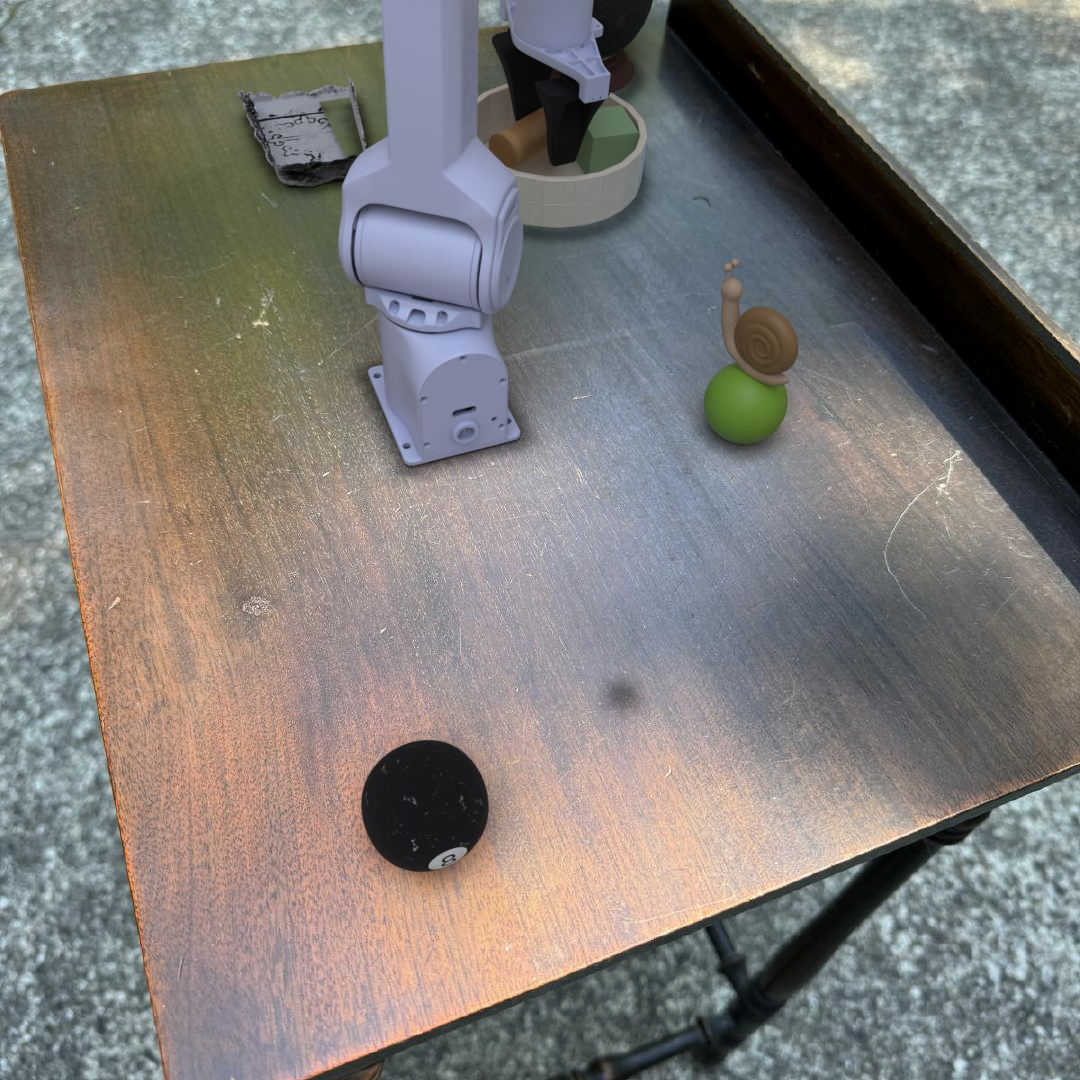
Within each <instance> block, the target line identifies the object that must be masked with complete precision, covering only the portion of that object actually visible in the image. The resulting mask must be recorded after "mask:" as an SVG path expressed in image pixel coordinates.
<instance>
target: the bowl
mask: <svg viewBox="0 0 1080 1080" xmlns="http://www.w3.org/2000/svg"><path fill="white" fill-rule="evenodd" d="M619 105H622V106H623V108H624V110H625V111H626V113H627V114H628V116H629V117H630V119H631V121H632V122H633V124H634V125H635V127H636V129H637V130H638V132H639V133H638V140H637V146H636V148H635V150H634V151H633V152H632V153H631V154H630V155H629V156H628V157H627V158H626V159H624V160H623V161H622V162H621V163H619V164H617V165H614V166H612V167H610V168H607V169H605V170H603V171H601V172H596V173H590V174H584V172H583V170H582V168H581V167H580V165H579V163H578V161H577V159H576V160H575V162H572V163H568V164H564V165H560V166H553V165H552V164H551V163H550V161H549V157H548V151H547V149H545V150H543V151H542V152H540V153H538V154H537V155H535V156H533V157H532V158H530V159H528V160H527V161H525V162H523V163H521V164H520V165H518V166H516V167H515V168H513V169H511V168H508V167H507V168H508V169H509V170H510V172H511V173H512V174H513V175H514V176H515V177H516V179H517V189H518V191H519V212H520V219H521V221H522V225H525V226H530V227H531V226H532V227H537V228H538V227H540V228H550V229H551V228H552V229H553V228H554V229H555V228H556V229H557V228H558V229H563V228H565V229H566V228H575V227H582V226H583V227H584V226H588V225H591V224H595V223H596V224H597V223H600V222H602V221H605V220H607V219H609V218H612V217H613V216H616V215H617V214H619V213H621V212H623V210H624V209H626V208H627V207H628V206H629V205H630V204H631V203H632V202H633V201H634V200H635V199H636V197H637V195H638V193H639V189H640V186H641V183H642V181H643V180H642V179H643V172H644V164H645V157H646V150H647V144H648V143H647V142H648V133H647V127H646V123H645V120H644V118H643V117H642V116H641V115H640V114H639V112H638V111H637V110H636V109H635V108H634V106H633V105H631V104H630V103H629V102H627V101H626V100H624V99H623V98H620V97H619V96H617V95H616V94H614V93H611V92H610V95H609V96H608V98H607V99H606V100H605V101H604V102H603V103H602V105H601V106H600V107H599V108H603V107H611V106H619ZM515 122H516V121H515V117H514V112H513V107H512V102H511V97H510V92H509V87H508V83H503V84H502V85H499V86H497V87H494V88H491V89H488V90H486V91H484V92H482V93H481V94H479V95H478V105H477V136H478V138H479V140H480V141H481V142H482V143H483V144H484V145H485V146H486V147H487V148H488V149H489V140H490V138H491V136H492V135H493V134H495V133H497V132H499V131H501V130H502V129H504V128H506V127H508V126H509V125H511V124H513V123H515Z"/></svg>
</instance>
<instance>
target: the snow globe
mask: <svg viewBox="0 0 1080 1080" xmlns="http://www.w3.org/2000/svg"><path fill="white" fill-rule="evenodd" d="M653 2H654V0H593V11H592V17H593V18H595V19H596V20H597V21H598V22H599V23H600V24H602V25H603V34H602V36H600V37H597V38H595V40H596V44H597V47H598V50H599V53H600V57H601V60H602V63H603V65H604V67H605V68H606V69H607V70H608V72H609V73H610V74H611V75H610V83H611V93H612V94H614V93H616V92H618V91H621V90H622V89H624V88H625V87H626V86H627V85H629V84H630V83H631V81H632V80H633V78H634V74H635V68H634V65H633V62H632V60H631V59H630V58H629V56H628V54H627V52H626V51H625V50H624V49H625V48H626V47H627V46H629V44H631V43H632V42H633V41H634V39H635V38H636V37H637V35H638V34H639V32H641V30H642V28H643V27H644V26H645V24H646V21H647V19H648V18H649V14H650V12H651V10H652V6H653V4H654V3H653ZM554 78H559V79H560V71H558V70H556V69H554V68H553V69H552V72H551V76H550V79H554Z"/></svg>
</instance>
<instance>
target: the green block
mask: <svg viewBox="0 0 1080 1080" xmlns="http://www.w3.org/2000/svg"><path fill="white" fill-rule="evenodd" d="M638 133H639V132H638V130H637V129H636V127H635V125H634V124H633V122H632V121H631V119H630V117H629V116H628V114H627V113H626V111H625V110H624V108H623V106H622V105H619V106H611V107H603V108H599V109H598V110H597V112H596V113H595V115H594V117H593V118H592V120H591V122H590V124H589V126H588V129H587V131H586V133H585V136H584V139H583V141H582V144H581V147H580V149H579V152H578V155H577V158H576V159H577V161H578V163H579V165H580V167H581V168H582V170H583V172H584V174H590V173H596V172H601V171H603V170H605V169H607V168H610V167H612V166H614V165H617V164H619V163H621V162H622V161H623V160H624V159H626V158H627V157H628V156H629V155H630V154H631V153H632V152H633V151H634V150H635V148H636V146H637V140H638Z"/></svg>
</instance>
